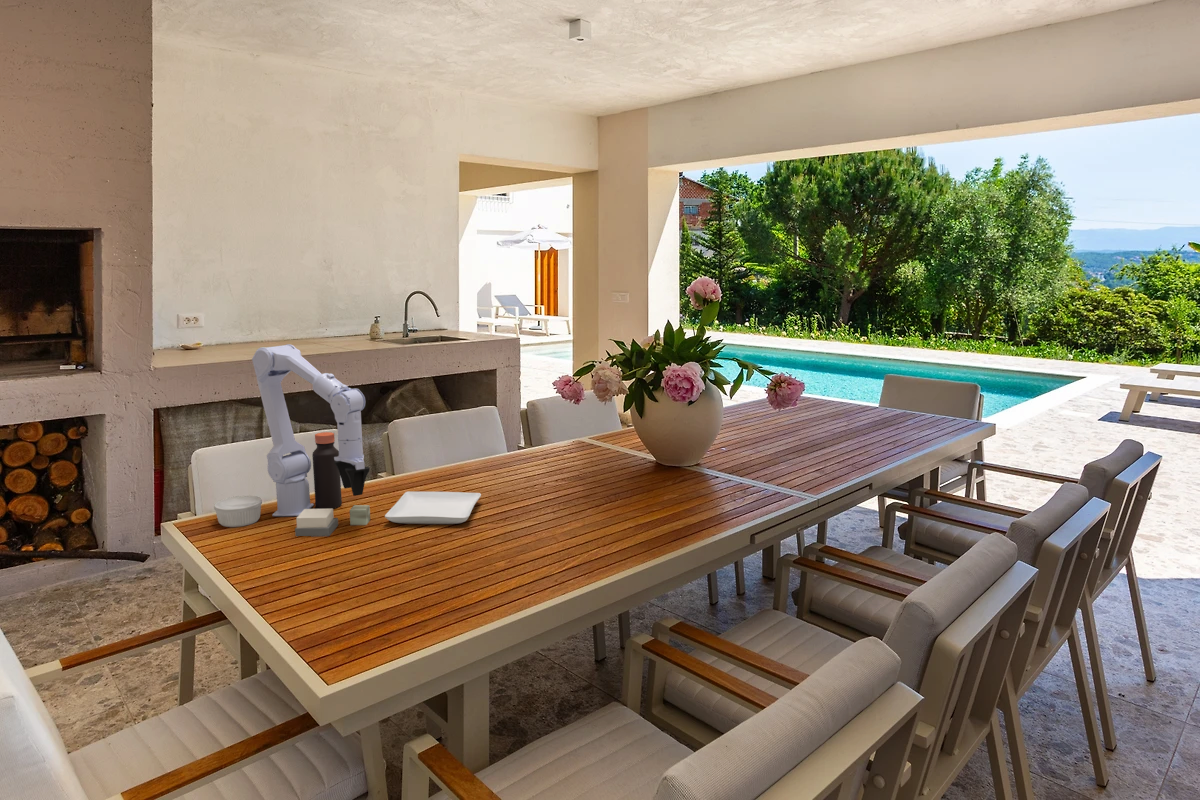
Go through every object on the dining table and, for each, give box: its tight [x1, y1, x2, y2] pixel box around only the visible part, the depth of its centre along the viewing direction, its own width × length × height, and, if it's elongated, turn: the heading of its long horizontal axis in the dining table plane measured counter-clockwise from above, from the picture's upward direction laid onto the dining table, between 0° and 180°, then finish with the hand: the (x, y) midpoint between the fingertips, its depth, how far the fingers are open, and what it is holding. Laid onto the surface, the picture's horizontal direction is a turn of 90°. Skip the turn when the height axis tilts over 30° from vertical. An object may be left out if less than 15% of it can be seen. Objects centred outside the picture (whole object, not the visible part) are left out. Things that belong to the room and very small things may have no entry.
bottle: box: [311, 431, 343, 509], centre depth 211 cm, size 7×7×20 cm
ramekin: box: [213, 495, 263, 528], centre depth 200 cm, size 11×11×5 cm
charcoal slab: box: [294, 517, 339, 538], centre depth 194 cm, size 8×8×2 cm
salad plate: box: [384, 491, 482, 525], centre depth 206 cm, size 21×21×3 cm
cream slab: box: [295, 508, 335, 528], centre depth 193 cm, size 7×7×2 cm
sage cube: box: [349, 504, 371, 526], centre depth 200 cm, size 4×4×4 cm
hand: (353, 491), depth 197 cm, fingers open, 7 cm apart
